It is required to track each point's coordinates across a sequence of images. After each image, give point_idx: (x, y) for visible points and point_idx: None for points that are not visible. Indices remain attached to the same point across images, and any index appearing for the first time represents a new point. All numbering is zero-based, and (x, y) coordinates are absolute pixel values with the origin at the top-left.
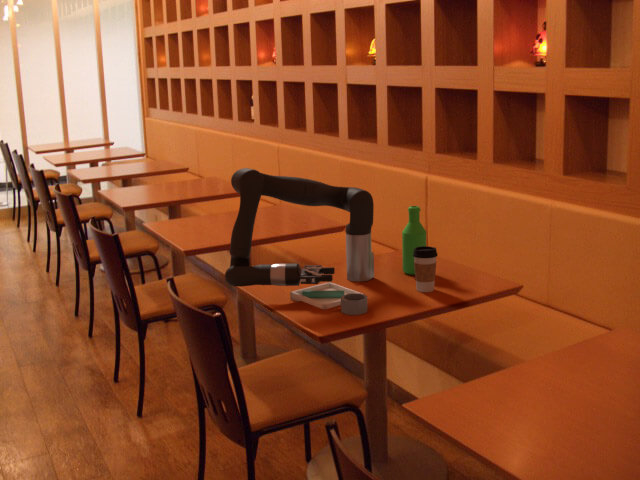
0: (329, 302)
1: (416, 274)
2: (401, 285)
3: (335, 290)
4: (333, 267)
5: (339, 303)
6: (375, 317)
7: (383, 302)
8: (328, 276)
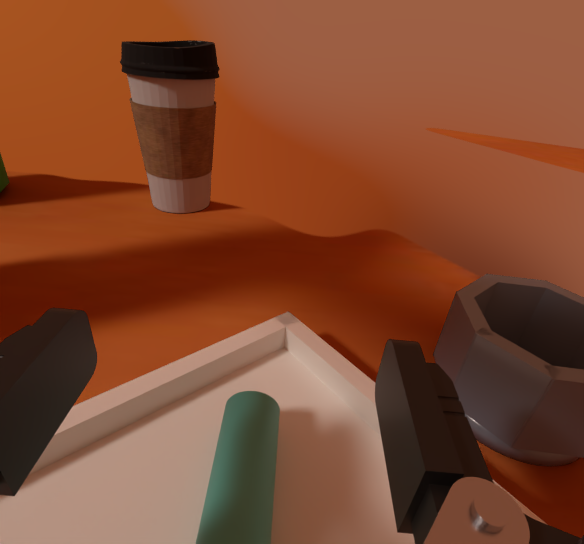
0: None
1: (185, 155)
2: (97, 231)
3: (238, 455)
4: (51, 308)
5: None
6: None
7: (307, 289)
8: (433, 382)
